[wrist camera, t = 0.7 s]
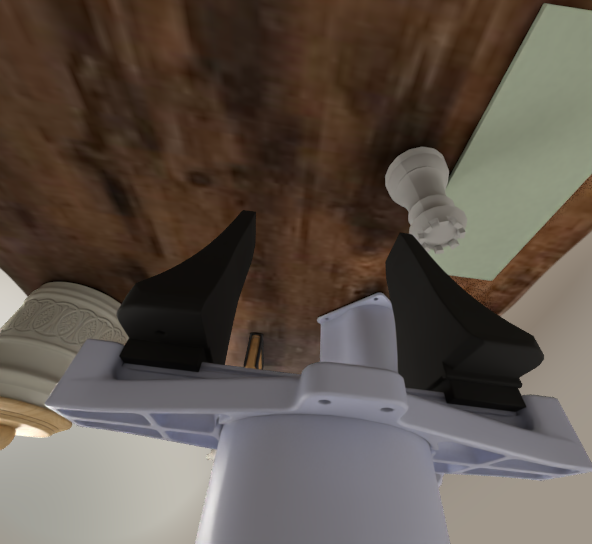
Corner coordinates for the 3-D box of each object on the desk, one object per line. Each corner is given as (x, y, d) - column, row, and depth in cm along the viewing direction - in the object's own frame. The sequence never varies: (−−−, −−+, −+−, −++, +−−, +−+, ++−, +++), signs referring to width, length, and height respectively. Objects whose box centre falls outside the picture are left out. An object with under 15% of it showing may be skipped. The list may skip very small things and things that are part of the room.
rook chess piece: (372, 173, 22) (386, 237, 17) (424, 130, 20) (461, 190, 14) (404, 207, 24) (426, 274, 19) (456, 172, 22) (498, 238, 16)
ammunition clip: (250, 332, 41) (230, 420, 33) (263, 333, 41) (246, 422, 33) (253, 364, 49) (237, 442, 41) (263, 365, 49) (250, 444, 41)
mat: (490, 278, 30) (491, 280, 29) (400, 266, 29) (401, 268, 29) (717, 30, 15) (724, 31, 15) (543, 3, 15) (547, 3, 15)
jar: (115, 283, 36) (4, 443, 23) (148, 337, 45) (82, 470, 33) (14, 274, 36) (-147, 426, 24) (69, 329, 45) (-27, 458, 33)
